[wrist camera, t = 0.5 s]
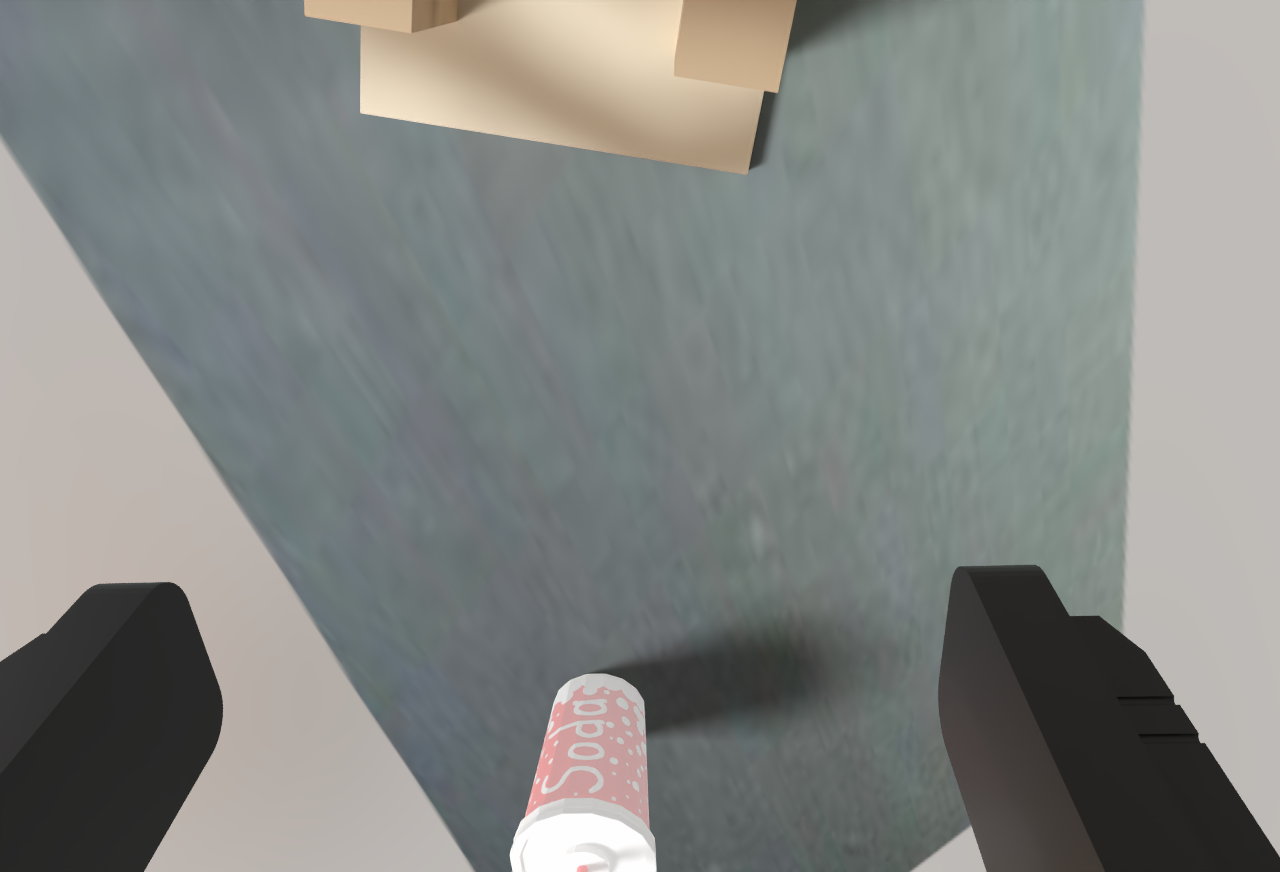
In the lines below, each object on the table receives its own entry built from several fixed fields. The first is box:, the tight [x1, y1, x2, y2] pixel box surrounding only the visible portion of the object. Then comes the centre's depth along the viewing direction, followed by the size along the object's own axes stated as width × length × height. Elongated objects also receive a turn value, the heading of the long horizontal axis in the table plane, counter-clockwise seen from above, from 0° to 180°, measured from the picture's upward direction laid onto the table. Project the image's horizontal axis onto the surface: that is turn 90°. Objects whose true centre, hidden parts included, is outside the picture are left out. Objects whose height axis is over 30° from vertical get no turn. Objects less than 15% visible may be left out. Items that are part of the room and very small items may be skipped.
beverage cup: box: [510, 674, 656, 872], centre depth 40 cm, size 6×6×14 cm
